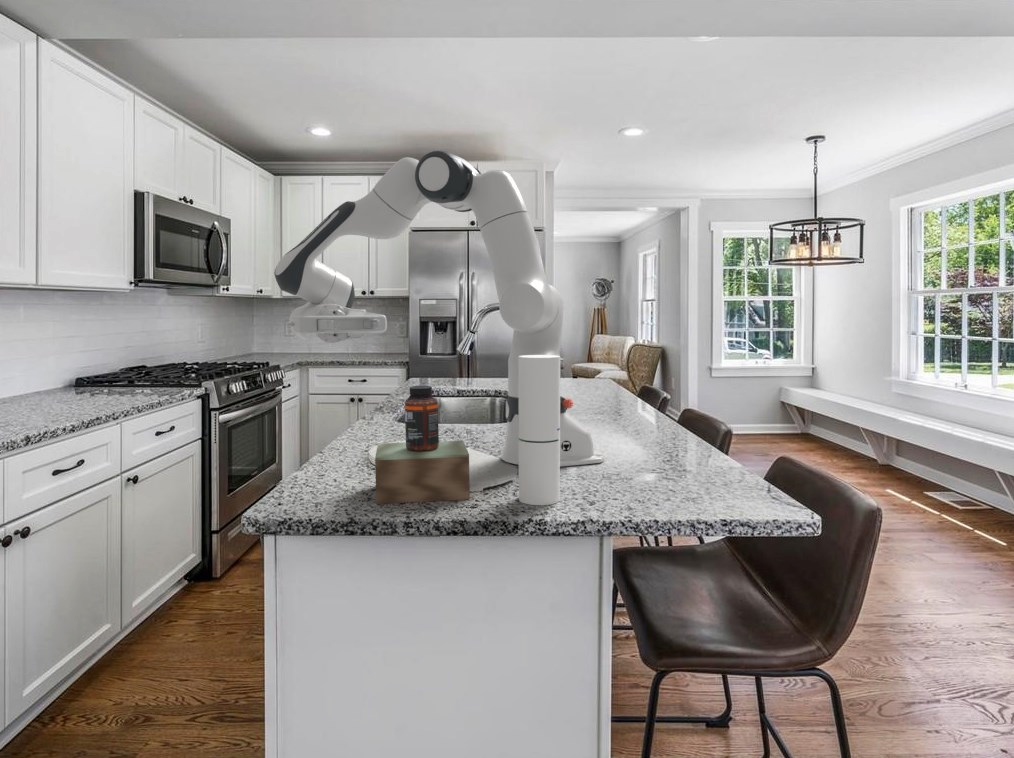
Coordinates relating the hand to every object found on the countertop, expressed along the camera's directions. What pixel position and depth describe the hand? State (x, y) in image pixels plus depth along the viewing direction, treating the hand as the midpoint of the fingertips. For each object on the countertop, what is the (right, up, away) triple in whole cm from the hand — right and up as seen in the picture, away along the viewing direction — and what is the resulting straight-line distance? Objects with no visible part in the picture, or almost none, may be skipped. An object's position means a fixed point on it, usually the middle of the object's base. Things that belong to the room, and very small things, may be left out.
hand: (356, 324), depth 134 cm
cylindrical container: (+37, -33, -22) cm, 54 cm away
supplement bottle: (+16, -24, -18) cm, 34 cm away
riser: (+16, -32, -18) cm, 40 cm away
